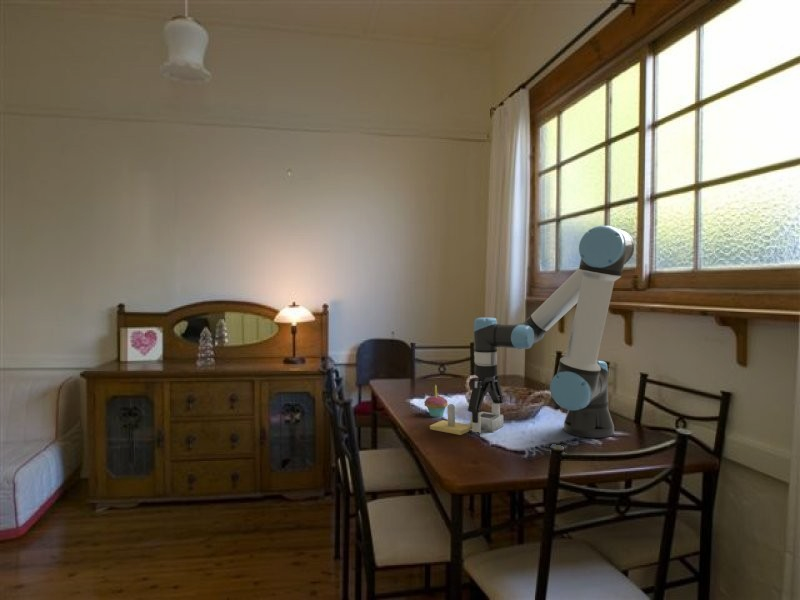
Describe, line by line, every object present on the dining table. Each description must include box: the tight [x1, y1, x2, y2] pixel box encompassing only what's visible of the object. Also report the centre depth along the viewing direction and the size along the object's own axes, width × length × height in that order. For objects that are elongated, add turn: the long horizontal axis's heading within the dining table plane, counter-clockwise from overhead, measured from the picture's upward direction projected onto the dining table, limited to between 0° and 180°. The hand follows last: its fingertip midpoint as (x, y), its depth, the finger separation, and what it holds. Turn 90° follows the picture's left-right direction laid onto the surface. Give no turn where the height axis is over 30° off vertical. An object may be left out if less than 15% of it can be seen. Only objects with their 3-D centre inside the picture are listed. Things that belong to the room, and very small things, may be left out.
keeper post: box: [429, 403, 472, 436], centre depth 167 cm, size 12×8×8 cm, turn 52°
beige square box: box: [470, 411, 504, 433], centre depth 168 cm, size 8×8×4 cm
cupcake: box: [423, 384, 449, 418], centre depth 185 cm, size 9×8×12 cm
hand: (486, 427), depth 169 cm, fingers open, 13 cm apart
